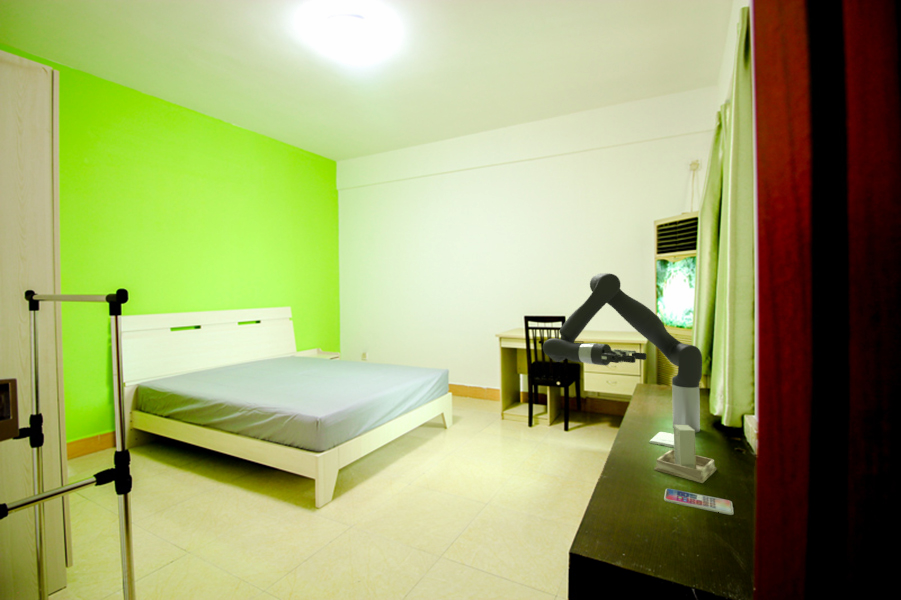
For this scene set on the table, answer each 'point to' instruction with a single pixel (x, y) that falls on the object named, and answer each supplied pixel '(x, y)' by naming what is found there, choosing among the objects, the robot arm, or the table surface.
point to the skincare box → (684, 446)
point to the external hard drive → (663, 439)
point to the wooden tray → (699, 474)
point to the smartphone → (699, 501)
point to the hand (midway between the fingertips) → (640, 358)
